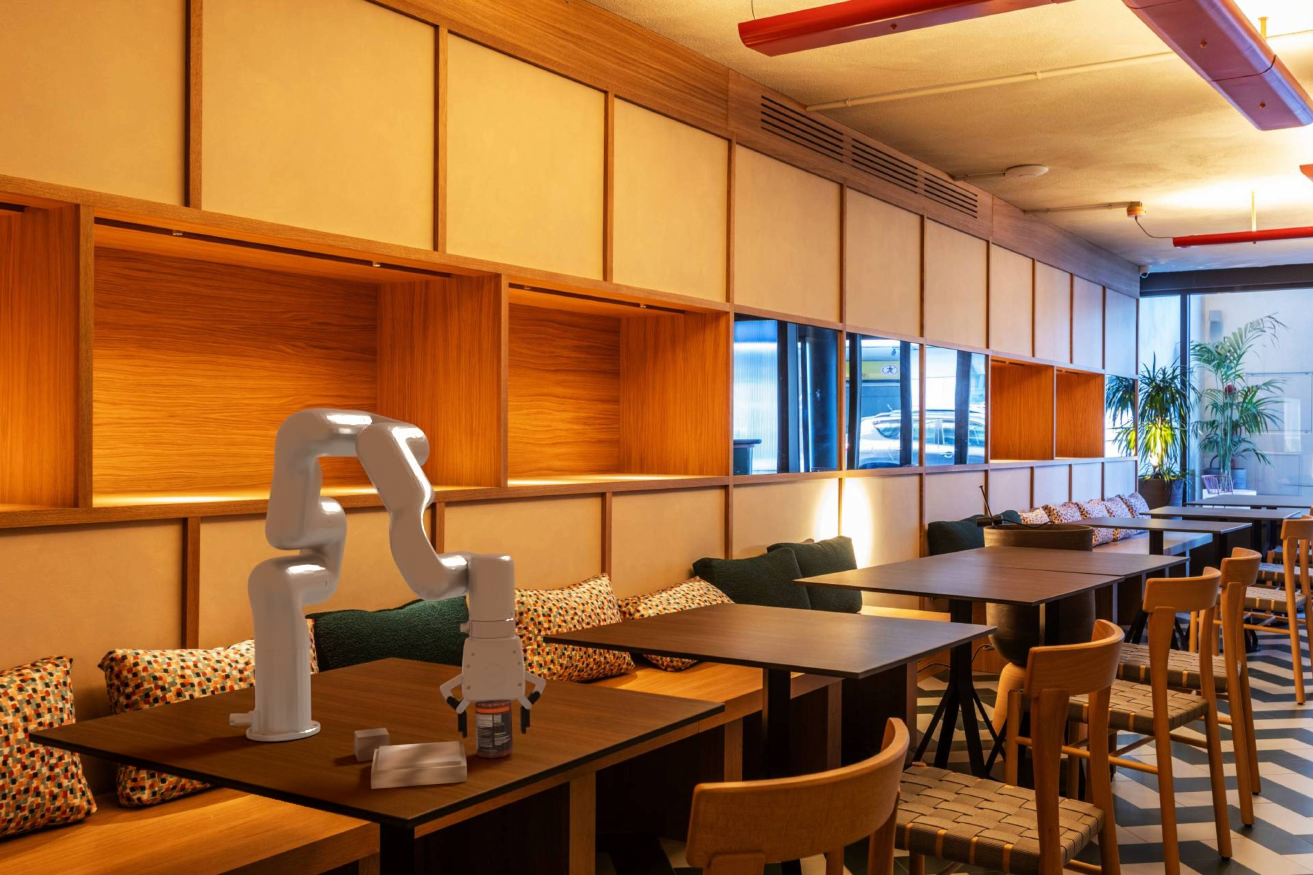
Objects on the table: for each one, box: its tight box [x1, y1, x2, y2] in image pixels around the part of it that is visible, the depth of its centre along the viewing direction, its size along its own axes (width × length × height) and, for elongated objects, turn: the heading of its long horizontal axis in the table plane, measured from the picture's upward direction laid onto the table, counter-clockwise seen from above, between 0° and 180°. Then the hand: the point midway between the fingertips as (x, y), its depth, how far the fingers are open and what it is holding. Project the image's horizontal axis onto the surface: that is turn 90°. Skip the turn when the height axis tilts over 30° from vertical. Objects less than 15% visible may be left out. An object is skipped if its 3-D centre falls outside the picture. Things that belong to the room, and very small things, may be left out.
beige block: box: [354, 727, 390, 762], centre depth 188 cm, size 5×5×4 cm
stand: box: [370, 740, 468, 790], centre depth 177 cm, size 14×14×3 cm
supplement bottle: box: [474, 700, 514, 759], centre depth 187 cm, size 6×6×11 cm
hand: (494, 733), depth 187 cm, fingers open, 9 cm apart
